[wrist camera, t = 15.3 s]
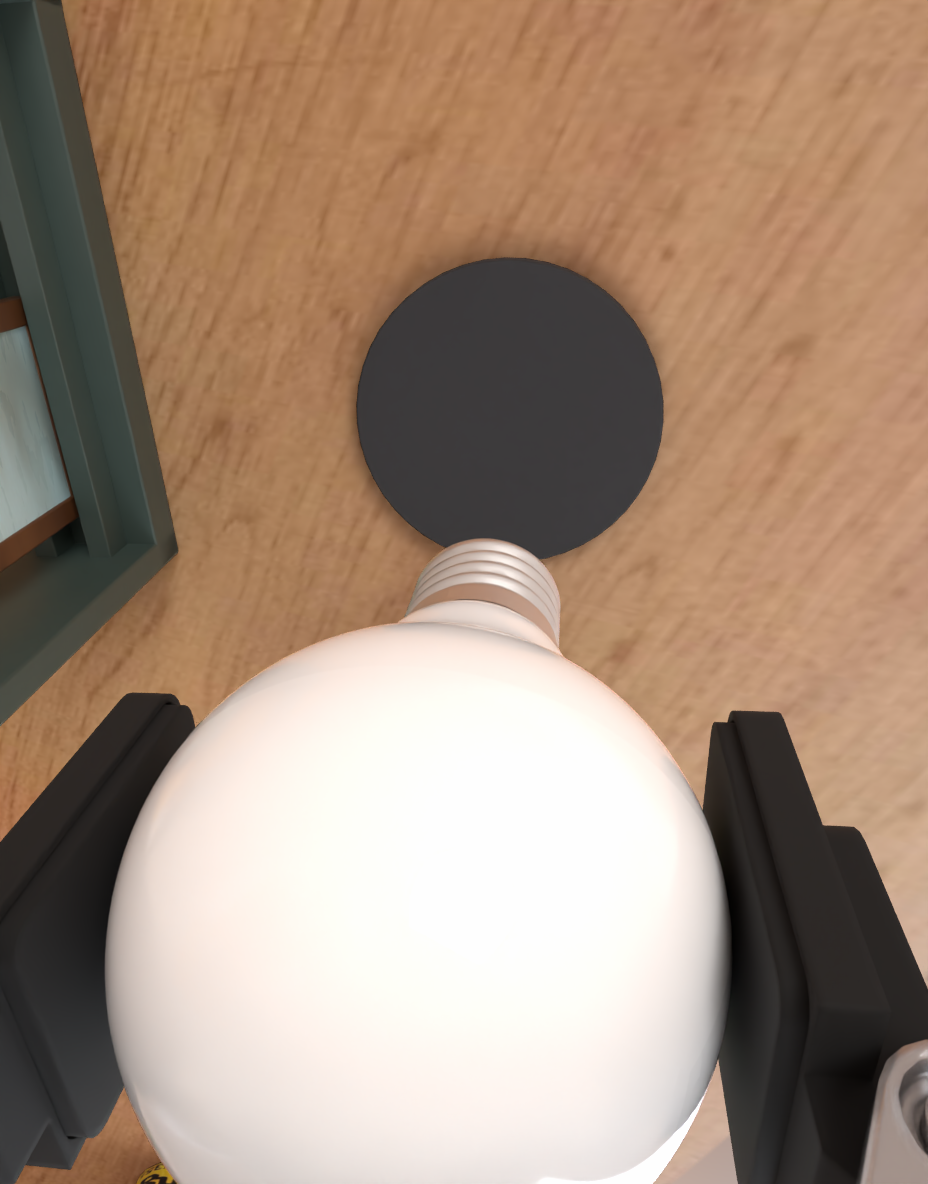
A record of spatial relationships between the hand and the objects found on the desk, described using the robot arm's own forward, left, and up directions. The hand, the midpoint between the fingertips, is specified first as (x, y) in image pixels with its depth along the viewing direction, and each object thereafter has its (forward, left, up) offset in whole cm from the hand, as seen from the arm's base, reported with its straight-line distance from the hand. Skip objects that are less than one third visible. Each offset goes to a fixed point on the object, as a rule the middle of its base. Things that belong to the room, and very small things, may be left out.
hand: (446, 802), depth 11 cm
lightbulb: (0, 0, -6) cm, 6 cm away
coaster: (0, -1, -19) cm, 19 cm away
